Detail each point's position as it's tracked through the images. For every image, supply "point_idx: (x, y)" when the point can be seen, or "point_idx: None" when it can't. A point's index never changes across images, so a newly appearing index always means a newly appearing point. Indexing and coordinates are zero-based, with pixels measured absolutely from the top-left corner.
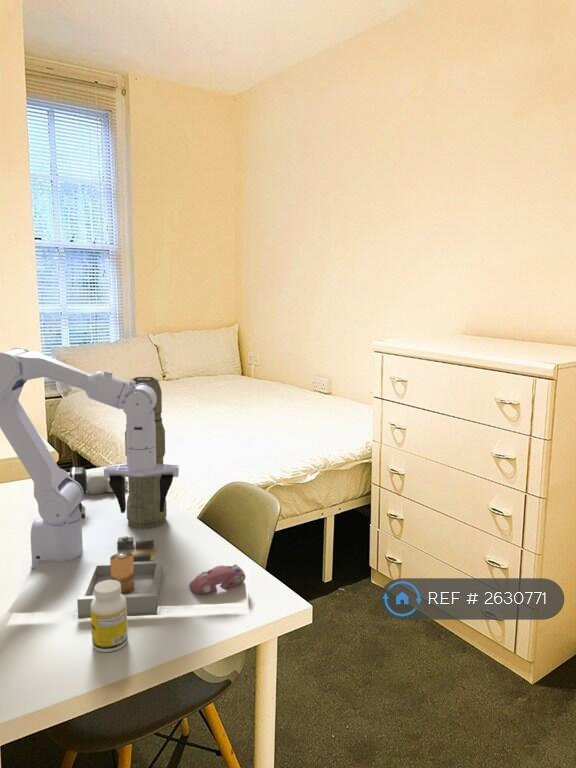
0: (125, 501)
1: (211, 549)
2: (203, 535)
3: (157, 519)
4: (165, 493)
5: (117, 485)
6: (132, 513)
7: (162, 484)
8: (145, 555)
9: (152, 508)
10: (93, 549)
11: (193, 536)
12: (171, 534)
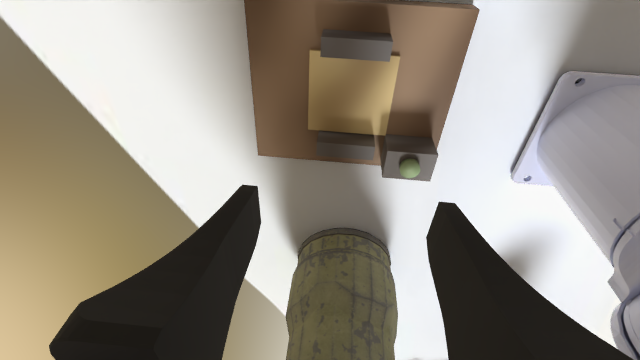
0: (433, 271)
1: (154, 126)
2: (197, 203)
3: (312, 261)
4: (176, 254)
5: (567, 357)
6: (381, 284)
7: (147, 314)
8: (339, 44)
9: (322, 289)
10: (493, 178)
11: (222, 202)
12: (281, 219)
